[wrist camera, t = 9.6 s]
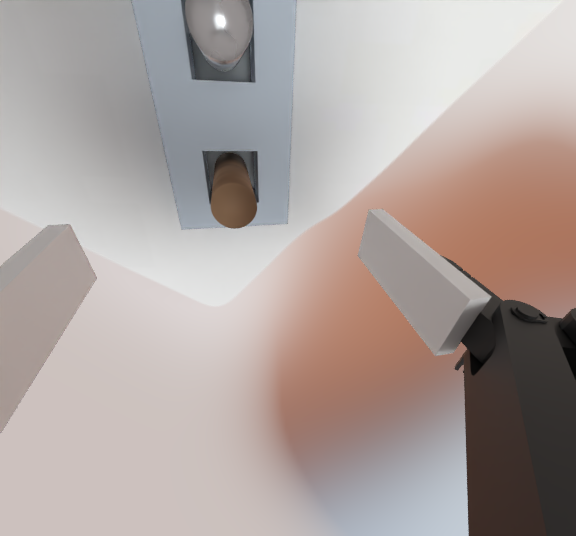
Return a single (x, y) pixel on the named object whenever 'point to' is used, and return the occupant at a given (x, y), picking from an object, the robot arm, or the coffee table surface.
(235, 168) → the walnut peg
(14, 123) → the coffee table surface
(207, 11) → the grey steel peg
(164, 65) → the socket block
